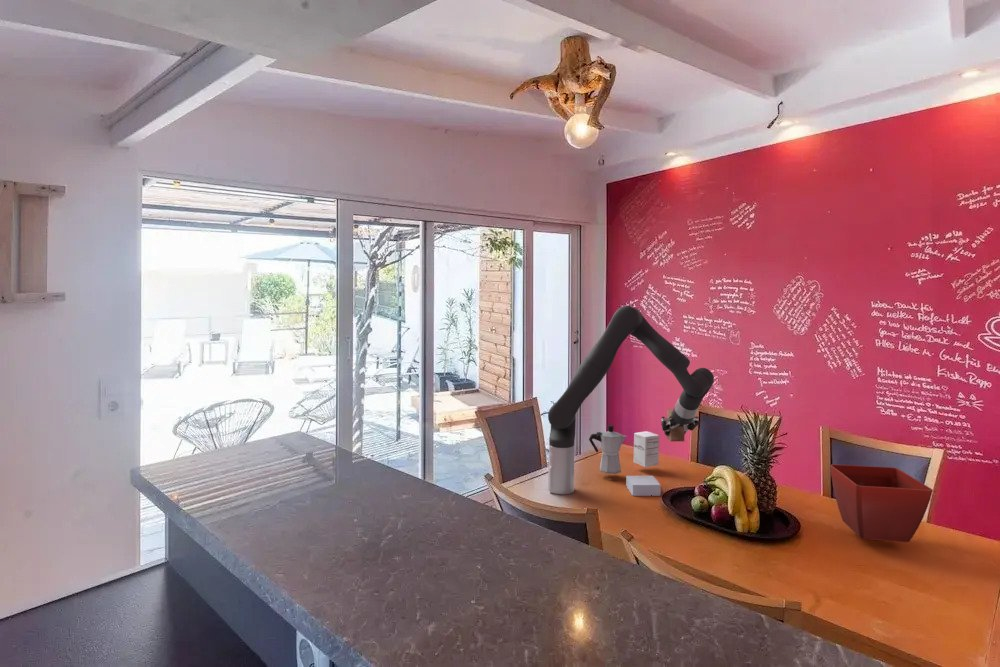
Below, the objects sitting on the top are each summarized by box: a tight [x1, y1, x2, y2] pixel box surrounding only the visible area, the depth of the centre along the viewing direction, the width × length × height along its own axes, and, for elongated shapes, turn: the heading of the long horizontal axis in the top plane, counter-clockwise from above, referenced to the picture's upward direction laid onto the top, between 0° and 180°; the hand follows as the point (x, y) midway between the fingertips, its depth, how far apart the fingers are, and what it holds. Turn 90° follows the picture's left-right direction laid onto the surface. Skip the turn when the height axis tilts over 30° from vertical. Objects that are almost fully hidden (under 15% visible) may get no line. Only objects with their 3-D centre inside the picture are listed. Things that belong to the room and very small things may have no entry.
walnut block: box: [666, 408, 686, 442], centre depth 204 cm, size 5×5×11 cm
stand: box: [625, 475, 662, 497], centre depth 202 cm, size 10×10×4 cm
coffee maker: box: [588, 424, 628, 475], centre depth 216 cm, size 15×9×18 cm, turn 84°
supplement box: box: [633, 430, 660, 468], centre depth 224 cm, size 7×7×13 cm
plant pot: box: [829, 463, 934, 543], centre depth 160 cm, size 19×19×17 cm
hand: (673, 433), depth 206 cm, fingers closed on walnut block, 5 cm apart
